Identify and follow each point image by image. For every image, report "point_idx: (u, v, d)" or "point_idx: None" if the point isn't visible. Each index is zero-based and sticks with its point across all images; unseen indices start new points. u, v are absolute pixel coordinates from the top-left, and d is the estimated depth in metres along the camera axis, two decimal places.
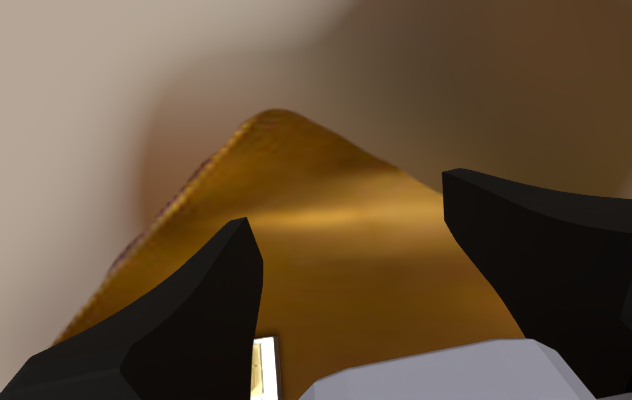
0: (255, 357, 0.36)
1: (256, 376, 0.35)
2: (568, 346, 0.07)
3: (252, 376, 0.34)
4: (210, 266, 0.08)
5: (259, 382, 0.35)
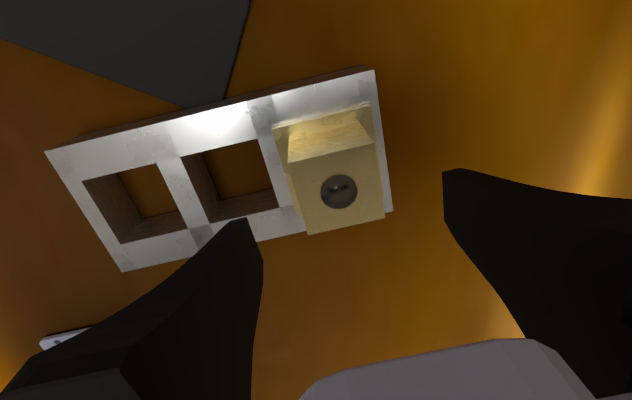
0: None
1: None
2: (568, 346, 0.07)
3: None
4: (210, 266, 0.08)
5: None
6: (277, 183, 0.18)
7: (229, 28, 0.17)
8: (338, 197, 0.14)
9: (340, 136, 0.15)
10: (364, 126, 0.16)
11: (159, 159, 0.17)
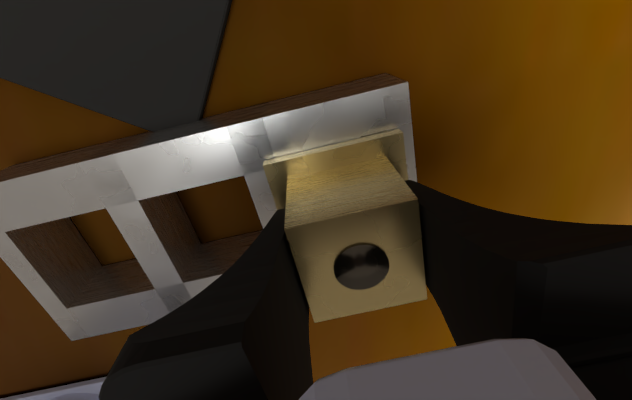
0: None
1: None
2: None
3: None
4: (276, 251, 0.08)
5: None
6: None
7: (204, 24, 0.12)
8: (360, 274, 0.09)
9: (362, 180, 0.10)
10: (392, 160, 0.12)
11: (110, 203, 0.12)
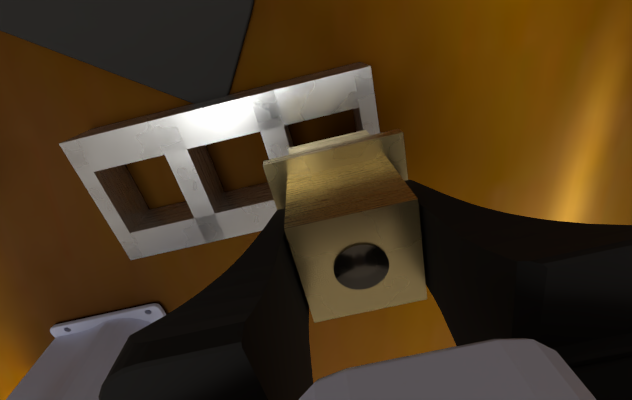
0: None
1: None
2: None
3: None
4: (277, 251, 0.08)
5: None
6: None
7: (233, 27, 0.17)
8: (360, 274, 0.09)
9: (362, 179, 0.10)
10: (392, 160, 0.12)
11: (167, 151, 0.18)
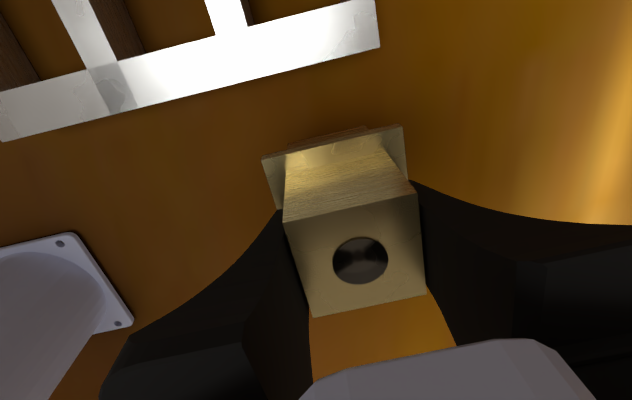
0: None
1: None
2: None
3: None
4: (276, 251, 0.08)
5: None
6: None
7: None
8: (359, 268, 0.09)
9: (360, 174, 0.10)
10: (392, 155, 0.11)
11: None
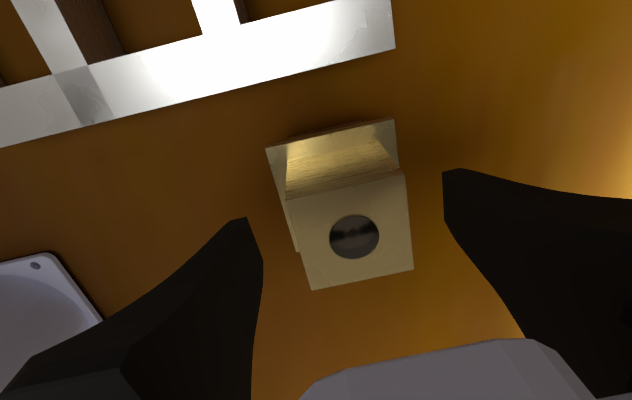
0: None
1: None
2: (567, 346, 0.07)
3: None
4: (210, 266, 0.08)
5: None
6: None
7: None
8: (353, 244, 0.10)
9: (355, 160, 0.11)
10: (384, 145, 0.13)
11: None
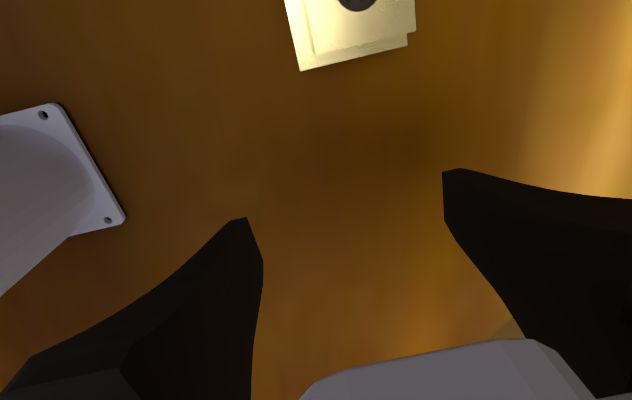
0: (377, 40, 0.14)
1: (337, 50, 0.15)
2: (568, 346, 0.07)
3: None
4: (210, 266, 0.08)
5: (324, 60, 0.15)
6: None
7: None
8: None
9: None
10: None
11: None
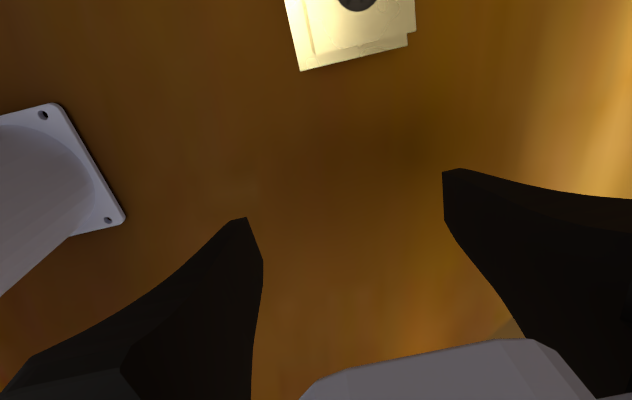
0: (377, 40, 0.14)
1: (337, 50, 0.15)
2: (568, 346, 0.07)
3: None
4: (210, 266, 0.08)
5: (324, 60, 0.15)
6: None
7: None
8: None
9: None
10: None
11: None
